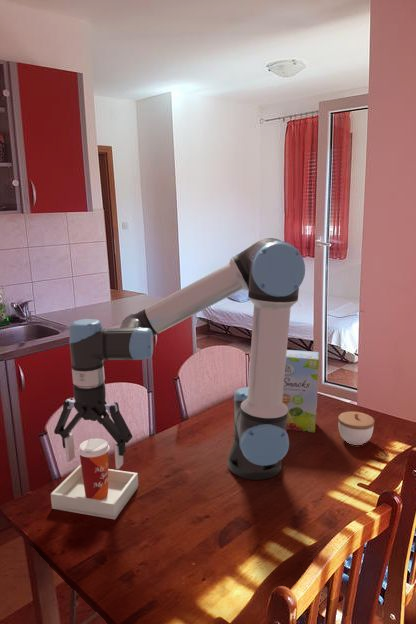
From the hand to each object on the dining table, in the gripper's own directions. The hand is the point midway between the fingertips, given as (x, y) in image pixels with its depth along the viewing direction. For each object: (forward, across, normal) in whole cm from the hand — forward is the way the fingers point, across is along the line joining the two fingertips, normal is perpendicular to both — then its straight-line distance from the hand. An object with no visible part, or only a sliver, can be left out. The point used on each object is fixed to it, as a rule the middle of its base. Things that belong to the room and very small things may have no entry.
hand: (94, 462), depth 120 cm
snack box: (+10, +41, +53) cm, 68 cm away
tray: (+10, 0, 0) cm, 10 cm away
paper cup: (+9, 0, 0) cm, 9 cm away
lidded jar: (+10, +64, +47) cm, 80 cm away
